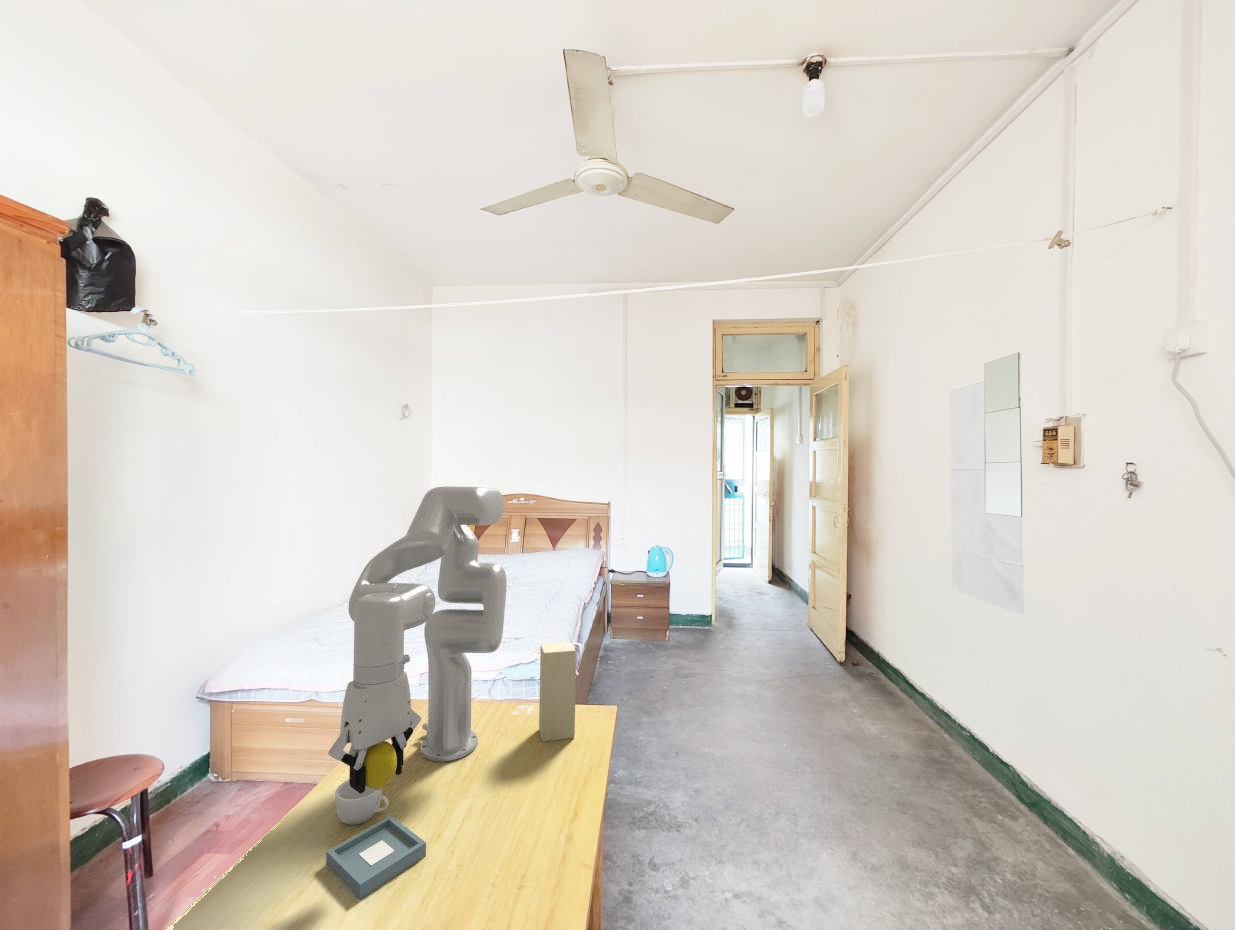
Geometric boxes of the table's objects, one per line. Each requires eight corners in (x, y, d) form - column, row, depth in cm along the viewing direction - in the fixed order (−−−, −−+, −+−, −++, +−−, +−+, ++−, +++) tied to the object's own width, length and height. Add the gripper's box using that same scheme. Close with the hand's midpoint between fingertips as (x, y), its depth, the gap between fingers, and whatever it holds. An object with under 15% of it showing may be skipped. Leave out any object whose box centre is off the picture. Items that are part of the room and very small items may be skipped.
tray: (326, 864, 84) (326, 851, 84) (390, 827, 93) (390, 815, 93) (360, 899, 77) (360, 884, 77) (425, 855, 86) (426, 842, 86)
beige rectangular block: (570, 723, 131) (570, 640, 131) (575, 738, 124) (576, 650, 124) (538, 727, 129) (539, 643, 129) (542, 742, 122) (543, 653, 122)
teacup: (324, 827, 93) (325, 797, 93) (355, 800, 100) (355, 772, 100) (373, 836, 91) (373, 805, 91) (400, 808, 98) (401, 779, 98)
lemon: (367, 780, 87) (368, 732, 87) (401, 778, 88) (401, 731, 88) (353, 801, 82) (354, 750, 82) (389, 799, 82) (390, 748, 82)
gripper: (413, 651, 94) (412, 750, 94) (312, 680, 81) (310, 797, 80) (438, 660, 90) (436, 765, 90) (335, 693, 76) (333, 817, 76)
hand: (377, 779), depth 85 cm, fingers closed on lemon, 5 cm apart
